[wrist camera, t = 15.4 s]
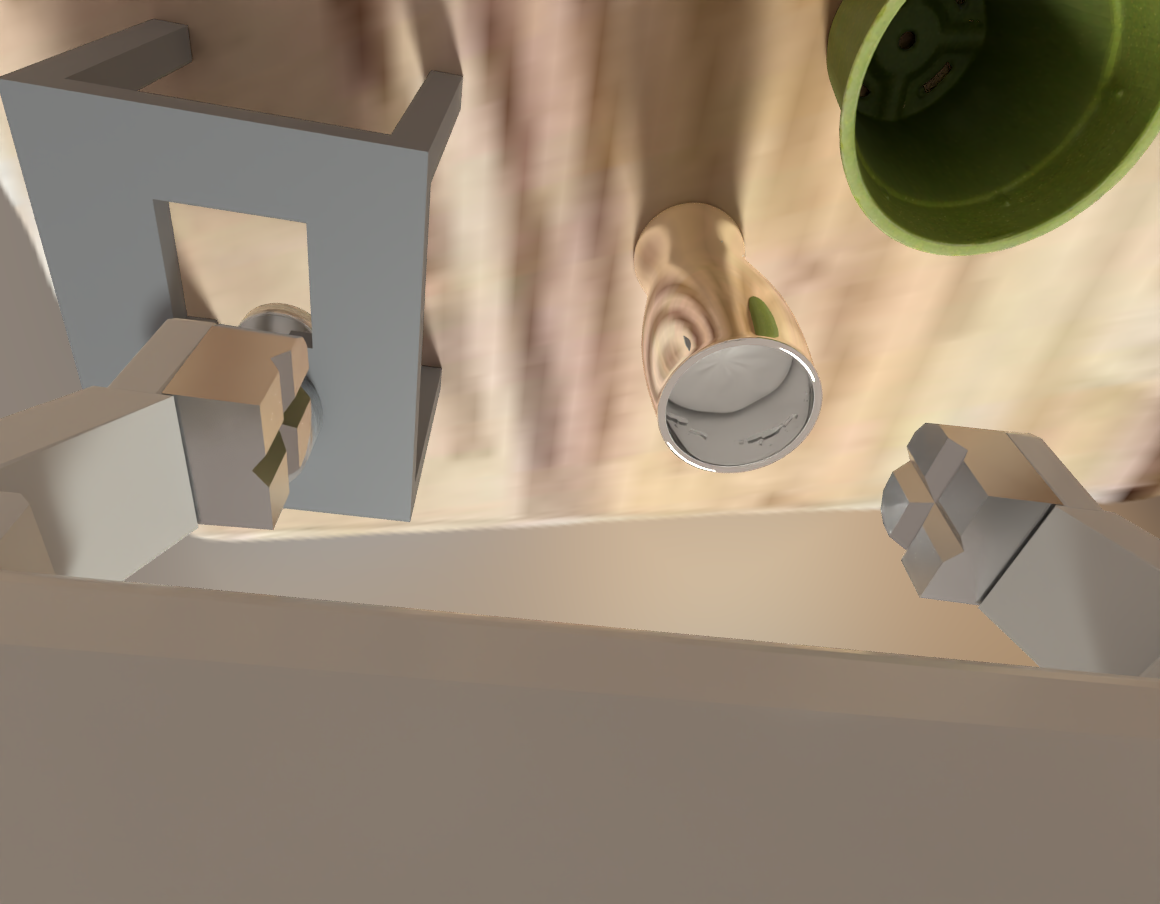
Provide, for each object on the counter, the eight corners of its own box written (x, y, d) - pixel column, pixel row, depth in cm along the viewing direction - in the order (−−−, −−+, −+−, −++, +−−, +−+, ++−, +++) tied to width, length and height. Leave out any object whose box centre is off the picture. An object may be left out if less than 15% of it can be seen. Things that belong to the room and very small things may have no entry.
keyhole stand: (153, 18, 34) (-5, 78, 24) (462, 76, 36) (428, 151, 26) (205, 357, 45) (110, 489, 35) (440, 388, 46) (410, 521, 37)
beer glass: (726, 322, 44) (787, 489, 32) (611, 299, 43) (632, 463, 31) (770, 208, 40) (859, 352, 28) (644, 180, 39) (682, 317, 27)
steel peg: (215, 278, 34) (142, 365, 28) (348, 297, 35) (305, 386, 29) (229, 386, 38) (167, 483, 32) (350, 401, 39) (311, 499, 33)
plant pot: (839, -158, 31) (954, -167, 22) (1088, -73, 33) (1286, -50, 24) (734, 136, 38) (788, 220, 29) (944, 191, 40) (1055, 285, 31)
